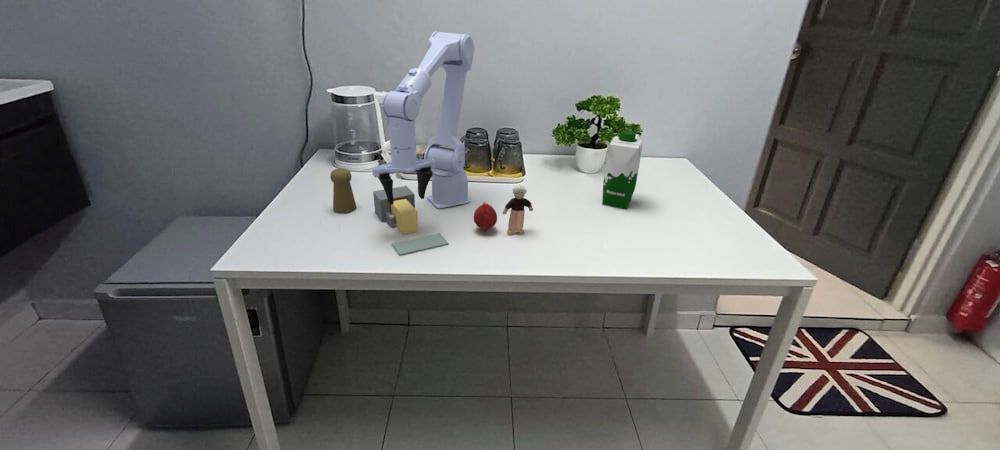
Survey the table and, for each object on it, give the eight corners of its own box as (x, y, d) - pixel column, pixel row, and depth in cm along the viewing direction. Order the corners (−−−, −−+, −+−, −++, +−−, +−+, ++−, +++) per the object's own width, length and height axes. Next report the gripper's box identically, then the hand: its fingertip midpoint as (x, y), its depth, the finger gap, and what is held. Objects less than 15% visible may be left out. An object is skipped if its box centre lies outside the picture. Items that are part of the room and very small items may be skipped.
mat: (439, 234, 119) (439, 232, 119) (448, 244, 115) (448, 243, 115) (391, 244, 114) (391, 243, 114) (399, 255, 110) (399, 254, 110)
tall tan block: (407, 218, 127) (405, 198, 124) (418, 231, 121) (417, 211, 118) (392, 221, 125) (390, 201, 123) (402, 234, 119) (401, 214, 116)
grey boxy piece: (407, 206, 133) (406, 185, 130) (421, 221, 125) (420, 199, 123) (375, 212, 129) (373, 191, 126) (386, 228, 121) (384, 206, 118)
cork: (350, 214, 127) (345, 175, 122) (328, 212, 128) (323, 172, 123) (360, 205, 132) (356, 167, 127) (340, 202, 133) (335, 164, 128)
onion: (499, 227, 124) (500, 198, 120) (492, 237, 119) (492, 208, 115) (478, 223, 125) (478, 195, 122) (469, 233, 120) (470, 204, 117)
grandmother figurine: (507, 238, 119) (509, 190, 113) (500, 231, 122) (502, 184, 116) (534, 232, 122) (538, 185, 116) (526, 225, 125) (529, 179, 119)
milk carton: (634, 199, 142) (646, 132, 133) (629, 211, 135) (641, 141, 126) (604, 193, 145) (614, 128, 136) (598, 205, 138) (607, 136, 129)
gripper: (376, 155, 105) (381, 212, 111) (439, 146, 111) (440, 201, 117) (367, 145, 110) (372, 200, 116) (428, 138, 117) (429, 190, 123)
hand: (406, 200), depth 117 cm, fingers open, 7 cm apart
